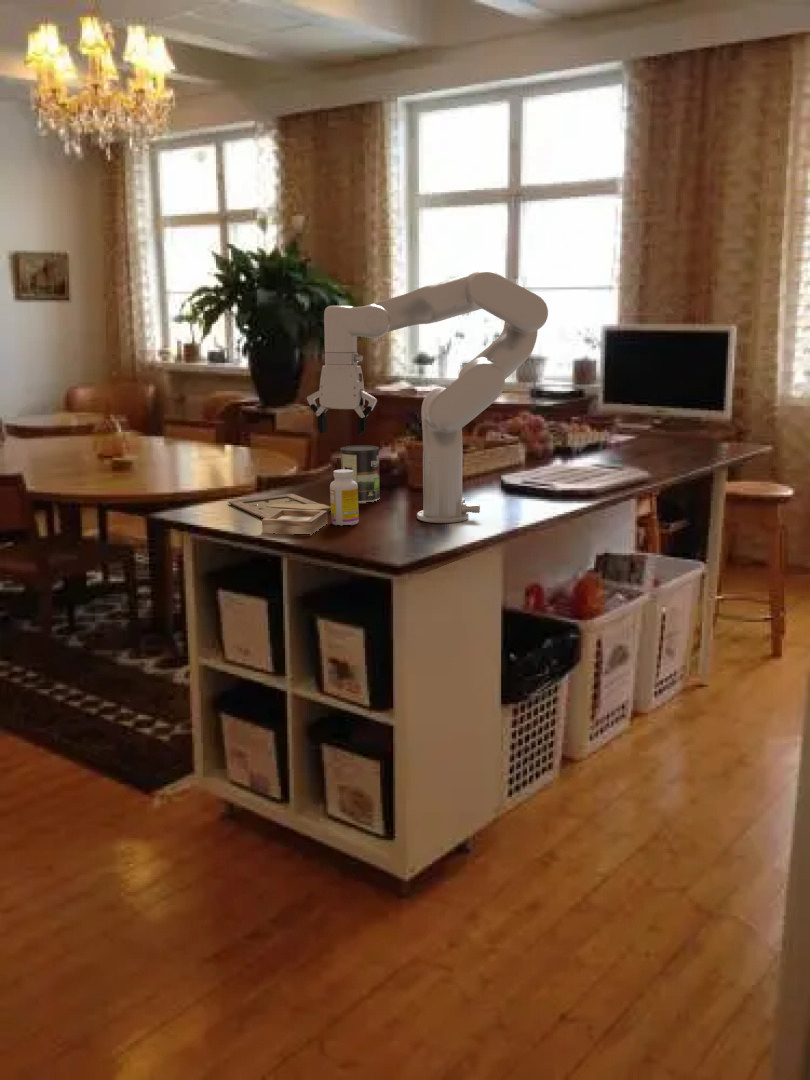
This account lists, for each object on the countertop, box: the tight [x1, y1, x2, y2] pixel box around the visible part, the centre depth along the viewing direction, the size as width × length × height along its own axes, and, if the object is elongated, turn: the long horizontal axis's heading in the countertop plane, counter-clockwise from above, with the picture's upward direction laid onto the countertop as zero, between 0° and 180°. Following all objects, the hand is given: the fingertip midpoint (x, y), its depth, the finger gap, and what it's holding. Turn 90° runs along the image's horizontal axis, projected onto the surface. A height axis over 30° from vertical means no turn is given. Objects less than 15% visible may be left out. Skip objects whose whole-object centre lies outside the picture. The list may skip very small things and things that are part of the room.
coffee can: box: [339, 444, 381, 504], centre depth 260 cm, size 10×10×14 cm
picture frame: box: [227, 493, 331, 519], centre depth 252 cm, size 19×2×24 cm
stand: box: [261, 509, 329, 536], centre depth 230 cm, size 12×12×3 cm
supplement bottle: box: [329, 469, 360, 527], centre depth 233 cm, size 7×7×13 cm
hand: (342, 433), depth 231 cm, fingers open, 9 cm apart
